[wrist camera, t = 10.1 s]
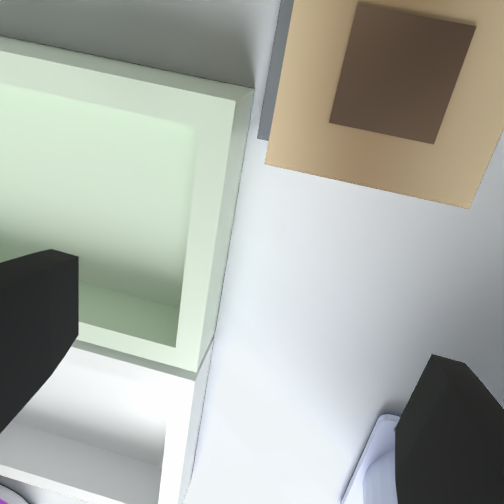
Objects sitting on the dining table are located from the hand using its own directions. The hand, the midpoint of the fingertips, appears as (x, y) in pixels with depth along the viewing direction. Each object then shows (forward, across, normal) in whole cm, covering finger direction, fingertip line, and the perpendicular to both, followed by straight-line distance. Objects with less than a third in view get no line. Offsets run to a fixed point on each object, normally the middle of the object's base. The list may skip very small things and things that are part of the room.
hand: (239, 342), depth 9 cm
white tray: (+10, +8, +14) cm, 19 cm away
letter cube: (+9, -2, -5) cm, 10 cm away
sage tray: (+9, +9, +2) cm, 13 cm away
